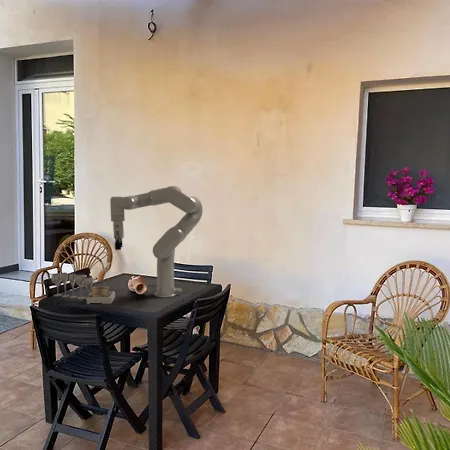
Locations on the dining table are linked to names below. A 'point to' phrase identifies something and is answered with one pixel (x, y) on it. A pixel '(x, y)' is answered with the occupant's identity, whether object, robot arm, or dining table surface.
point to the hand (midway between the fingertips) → (118, 248)
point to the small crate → (100, 292)
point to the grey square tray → (101, 299)
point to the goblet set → (72, 282)
